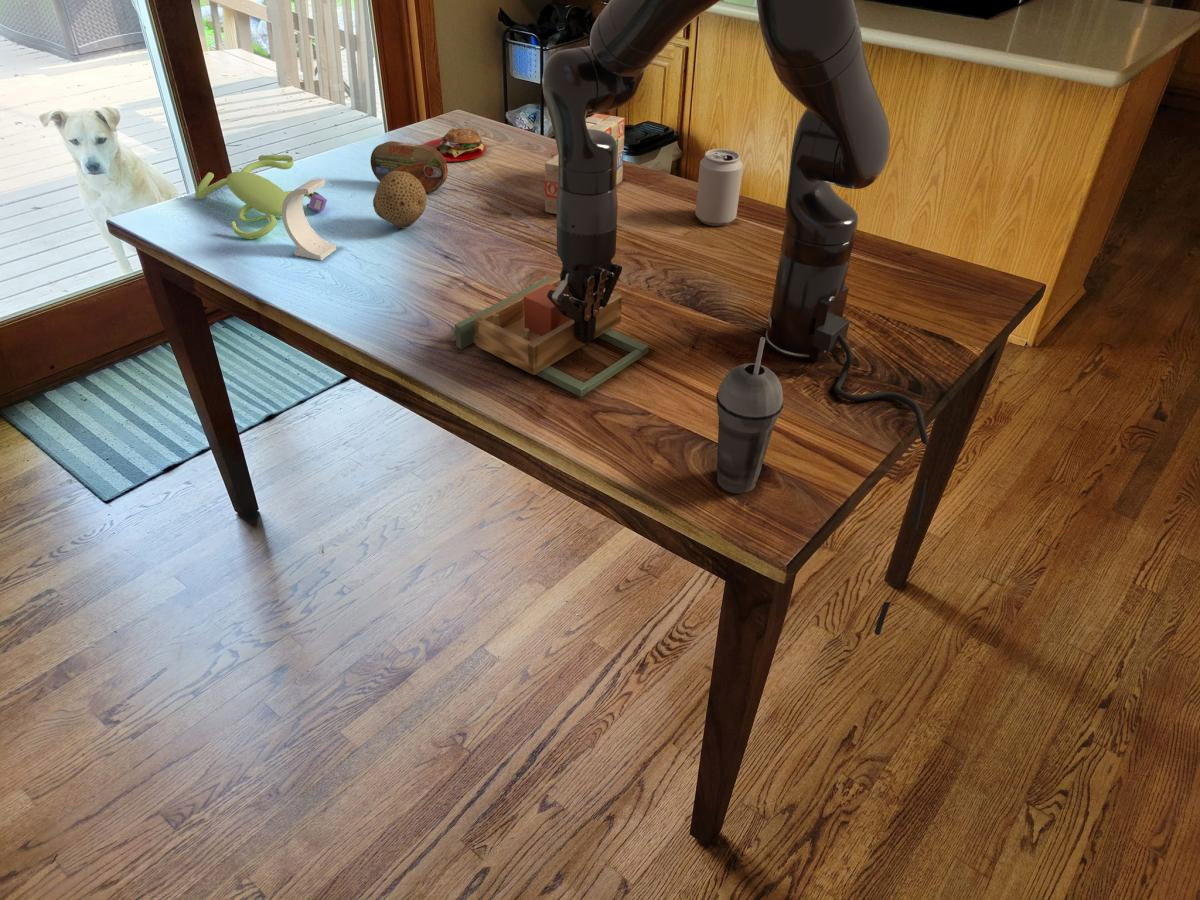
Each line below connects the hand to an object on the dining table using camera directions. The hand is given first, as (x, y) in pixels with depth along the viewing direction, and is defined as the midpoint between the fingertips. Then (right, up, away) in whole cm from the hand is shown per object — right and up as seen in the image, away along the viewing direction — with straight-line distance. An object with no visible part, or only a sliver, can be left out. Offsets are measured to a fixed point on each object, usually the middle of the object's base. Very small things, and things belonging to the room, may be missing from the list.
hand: (584, 339), depth 119 cm
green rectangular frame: (-4, 0, +5) cm, 6 cm away
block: (-5, +2, +4) cm, 7 cm away
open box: (-5, +1, +4) cm, 7 cm away
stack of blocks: (-1, +33, +47) cm, 58 cm away
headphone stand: (-46, +18, +26) cm, 55 cm away
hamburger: (-29, +48, +64) cm, 85 cm away
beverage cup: (+18, -19, -17) cm, 31 cm away
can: (+23, +27, +41) cm, 54 cm away
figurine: (-59, +29, +40) cm, 77 cm away
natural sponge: (-32, +24, +34) cm, 52 cm away
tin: (-34, +35, +48) cm, 69 cm away
